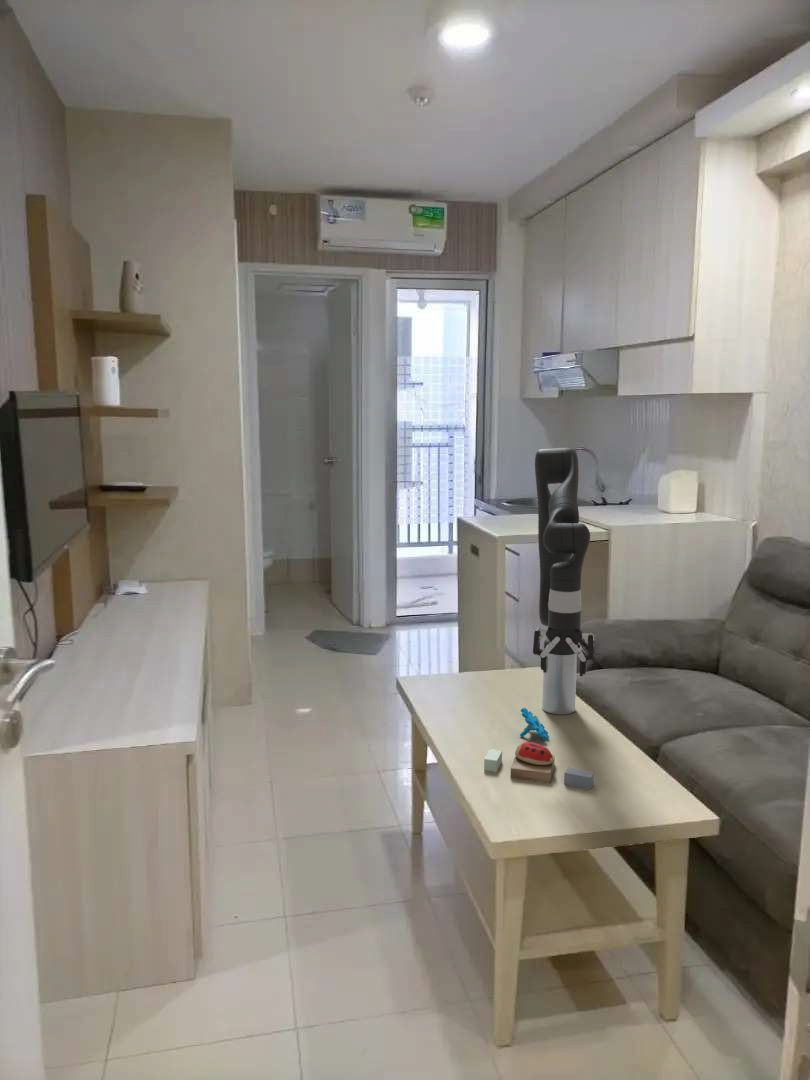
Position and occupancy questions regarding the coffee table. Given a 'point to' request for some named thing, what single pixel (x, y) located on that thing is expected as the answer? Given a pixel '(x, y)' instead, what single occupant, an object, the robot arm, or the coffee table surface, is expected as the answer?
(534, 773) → the walnut block
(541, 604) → the robot arm
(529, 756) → the ladybug figurine
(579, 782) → the slate brick
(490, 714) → the coffee table surface
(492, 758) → the sage brick
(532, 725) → the gear
